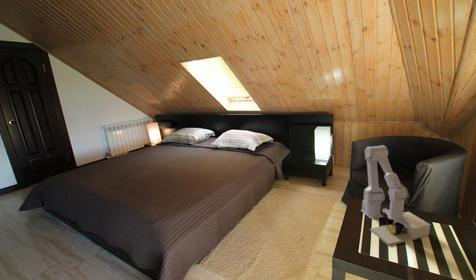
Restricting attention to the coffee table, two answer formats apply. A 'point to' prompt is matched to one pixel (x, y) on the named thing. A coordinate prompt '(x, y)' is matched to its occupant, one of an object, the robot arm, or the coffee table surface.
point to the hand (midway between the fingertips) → (393, 230)
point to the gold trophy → (393, 229)
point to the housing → (413, 232)
